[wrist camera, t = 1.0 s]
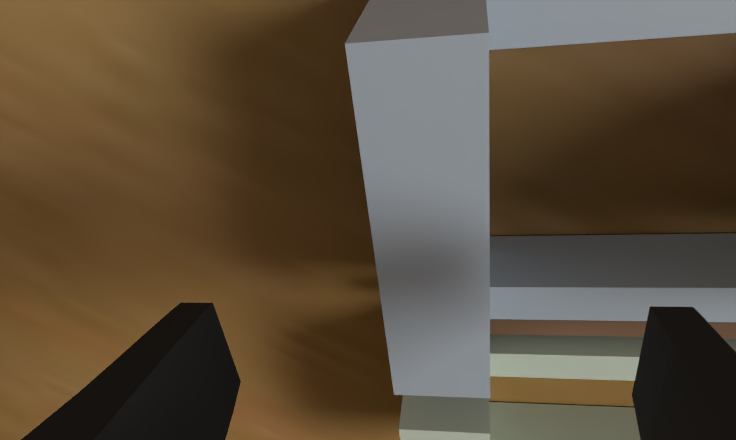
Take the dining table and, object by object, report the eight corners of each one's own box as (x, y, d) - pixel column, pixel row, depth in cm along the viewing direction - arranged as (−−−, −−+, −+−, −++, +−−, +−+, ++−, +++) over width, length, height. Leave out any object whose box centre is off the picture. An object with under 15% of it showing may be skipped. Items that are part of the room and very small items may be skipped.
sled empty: (970, 440, 20) (1108, 608, 16) (425, 415, 23) (415, 548, 19) (1070, 304, 16) (1280, 472, 12) (413, 299, 20) (398, 429, 16)
